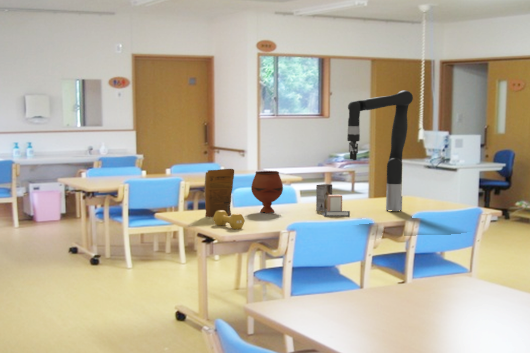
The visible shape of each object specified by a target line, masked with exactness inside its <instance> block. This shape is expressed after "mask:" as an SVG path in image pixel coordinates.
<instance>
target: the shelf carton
mask: <svg viewBox="0 0 530 353" xmlns="http://www.w3.org/2000/svg"><path fill="white" fill-rule="evenodd" d="M327 211H343V195H342V194H332V195H328V202H327Z"/></svg>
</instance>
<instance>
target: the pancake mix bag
mask: <svg viewBox="0 0 530 353" xmlns="http://www.w3.org/2000/svg"><path fill="white" fill-rule="evenodd" d="M204 175H205V176H204V202H205V205H204V207H205V215H204V216H205V217H207V218H213V217H214V214H215V212H216V211H219V210H224V211H226V213H227V214H228V216H229V217H231V215H232V212H231V206H232V205H231V203H232V193H233V188H234V178H235V169H233V168H221V169H208V170H207V171H206V172H205V174H204ZM205 217H204V218H205Z"/></svg>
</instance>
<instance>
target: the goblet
mask: <svg viewBox="0 0 530 353" xmlns="http://www.w3.org/2000/svg"><path fill="white" fill-rule="evenodd" d="M283 190H284V186H283V181H282V178H281V175H280V172H279V171H277V170H259V171H258V170H257V171H255V175H254V177H253V179H252V181H251V193H252V195H253V196H254V198H255V199H257V200H258V201H259V202H261V203H262V206H263V207H261V209H260V210H259V213H261V212H265V213H264V214H272V213H271V212H274V213H275V209H273V207H272V203H273V202H275V201H276V200H278V199H279V198H280V197H281V195H282V194H283Z"/></svg>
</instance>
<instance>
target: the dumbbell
mask: <svg viewBox="0 0 530 353" xmlns="http://www.w3.org/2000/svg"><path fill="white" fill-rule="evenodd" d="M212 219H213V220H212V221H213V222H214V224H215V225H216V226H218V227H220V226H225V225H226V224H228V225H229V226H230V228H231V229H233V230H240V229H242V228H243V226H244V223H245V218H244V216H243V214H242V213H231V215H230V216H228V214H227V213H226V211H224V210H219V211H216V212H215V214H214V217H212Z"/></svg>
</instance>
